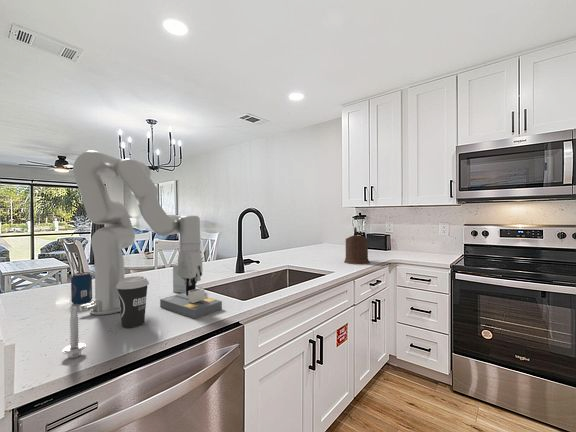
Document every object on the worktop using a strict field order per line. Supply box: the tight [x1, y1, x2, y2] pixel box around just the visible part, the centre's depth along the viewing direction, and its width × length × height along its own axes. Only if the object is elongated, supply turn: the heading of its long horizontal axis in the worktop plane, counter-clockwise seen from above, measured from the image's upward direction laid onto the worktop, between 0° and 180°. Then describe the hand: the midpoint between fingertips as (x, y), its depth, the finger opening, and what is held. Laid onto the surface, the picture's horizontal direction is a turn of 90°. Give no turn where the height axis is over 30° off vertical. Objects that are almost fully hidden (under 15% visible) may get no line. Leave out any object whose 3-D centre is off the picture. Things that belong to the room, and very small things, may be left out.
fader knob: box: [188, 287, 205, 303], centre depth 106 cm, size 5×3×4 cm, turn 145°
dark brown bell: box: [343, 226, 370, 266], centre depth 208 cm, size 18×24×25 cm
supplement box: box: [172, 263, 186, 293], centre depth 133 cm, size 7×7×13 cm
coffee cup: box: [116, 275, 150, 329], centre depth 93 cm, size 10×10×15 cm
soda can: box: [70, 271, 93, 306], centre depth 116 cm, size 7×7×12 cm
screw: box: [62, 305, 87, 359], centre depth 72 cm, size 13×5×5 cm
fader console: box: [159, 292, 223, 320], centre depth 108 cm, size 12×22×3 cm, turn 54°
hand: (190, 294), depth 108 cm, fingers closed
